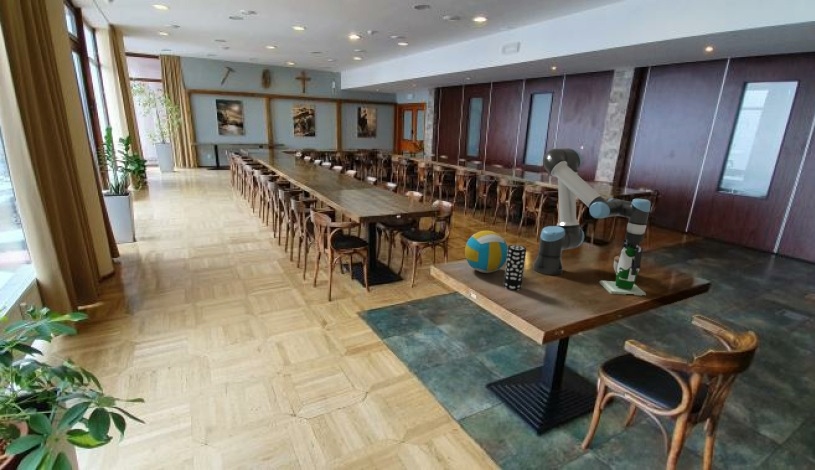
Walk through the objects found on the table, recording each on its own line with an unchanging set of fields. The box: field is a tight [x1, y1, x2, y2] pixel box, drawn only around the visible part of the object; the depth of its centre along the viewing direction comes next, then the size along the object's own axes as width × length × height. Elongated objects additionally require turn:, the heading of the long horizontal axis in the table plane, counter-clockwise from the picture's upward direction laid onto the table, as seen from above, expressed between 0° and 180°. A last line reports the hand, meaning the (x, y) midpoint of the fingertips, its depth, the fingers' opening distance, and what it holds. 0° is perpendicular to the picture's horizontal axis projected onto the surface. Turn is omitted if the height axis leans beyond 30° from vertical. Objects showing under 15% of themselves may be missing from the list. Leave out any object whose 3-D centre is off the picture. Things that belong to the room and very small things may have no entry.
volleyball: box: [464, 230, 508, 274], centre depth 207 cm, size 22×22×22 cm
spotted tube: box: [503, 244, 527, 292], centre depth 189 cm, size 8×8×20 cm
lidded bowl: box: [613, 255, 640, 274], centre depth 211 cm, size 13×13×11 cm
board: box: [599, 280, 647, 296], centre depth 195 cm, size 16×13×1 cm
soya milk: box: [615, 246, 640, 290], centre depth 191 cm, size 9×9×20 cm
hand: (626, 276), depth 193 cm, fingers closed on soya milk, 9 cm apart
